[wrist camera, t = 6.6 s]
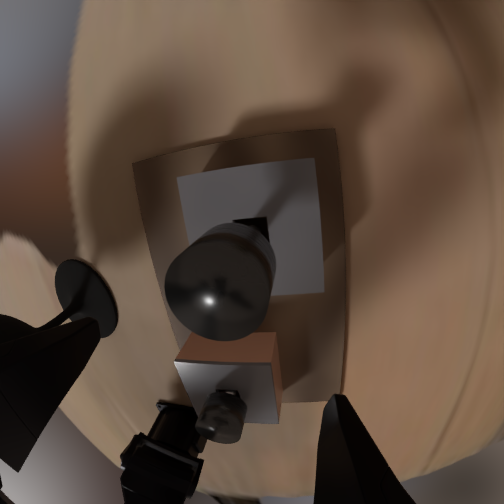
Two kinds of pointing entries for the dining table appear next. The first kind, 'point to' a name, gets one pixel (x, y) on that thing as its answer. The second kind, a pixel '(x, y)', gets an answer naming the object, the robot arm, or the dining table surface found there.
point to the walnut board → (333, 242)
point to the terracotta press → (234, 373)
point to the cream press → (264, 214)
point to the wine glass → (71, 302)
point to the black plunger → (222, 282)
